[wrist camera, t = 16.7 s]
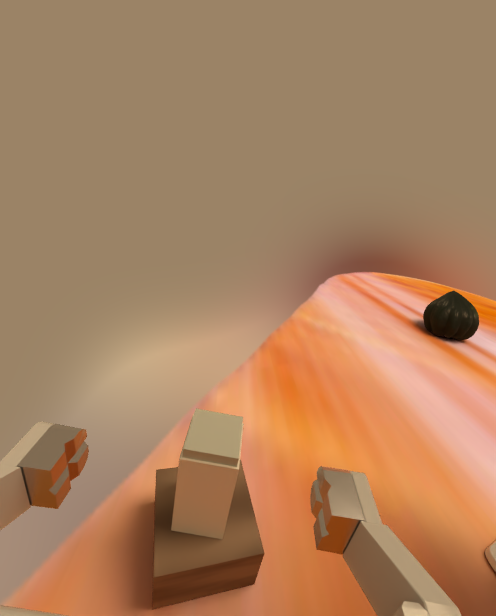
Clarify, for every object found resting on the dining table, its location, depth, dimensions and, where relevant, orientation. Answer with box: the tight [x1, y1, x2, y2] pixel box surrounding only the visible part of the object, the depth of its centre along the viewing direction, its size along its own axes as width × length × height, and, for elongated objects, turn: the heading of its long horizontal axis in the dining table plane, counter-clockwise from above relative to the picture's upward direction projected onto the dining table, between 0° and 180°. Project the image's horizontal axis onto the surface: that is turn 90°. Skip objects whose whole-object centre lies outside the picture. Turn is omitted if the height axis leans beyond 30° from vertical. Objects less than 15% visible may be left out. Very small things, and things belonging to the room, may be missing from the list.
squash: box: [423, 291, 479, 340], centre depth 96 cm, size 14×15×15 cm
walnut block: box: [152, 460, 264, 609], centre depth 32 cm, size 10×10×6 cm
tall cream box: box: [171, 409, 243, 539], centre depth 28 cm, size 5×5×11 cm
